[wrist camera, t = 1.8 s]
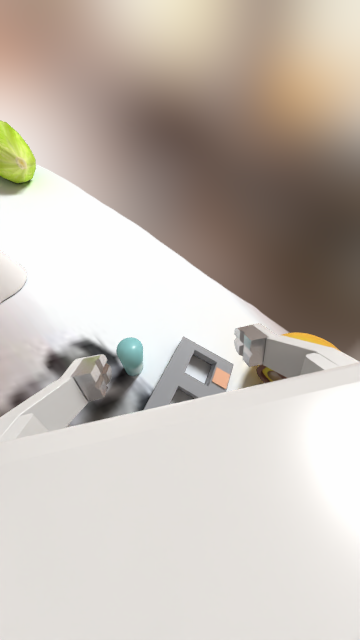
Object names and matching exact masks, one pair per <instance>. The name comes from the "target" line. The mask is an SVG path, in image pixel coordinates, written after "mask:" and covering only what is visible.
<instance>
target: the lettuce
mask: <svg viewBox="0 0 360 640" xmlns="http://www.w3.org/2000/svg"><path fill="white" fill-rule="evenodd" d="M35 169H36V162H35V158H34V156H33V154H32V152H31V150H30V148H29V146H28V145H27V144H26V143H25V141H24V140H23V139H22V137H21V136H20V135H19V133H18V132H16V131H15V130H14V129H13V128H12V127H11V126H10V125H9V124H7V123H6V122H3V121H0V176H1V177H3V178H5V179H7V180H10V181H12V182H15V183H22V182H26V181H28V180H30V179H32V178H33V175H34V172H35Z"/></svg>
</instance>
